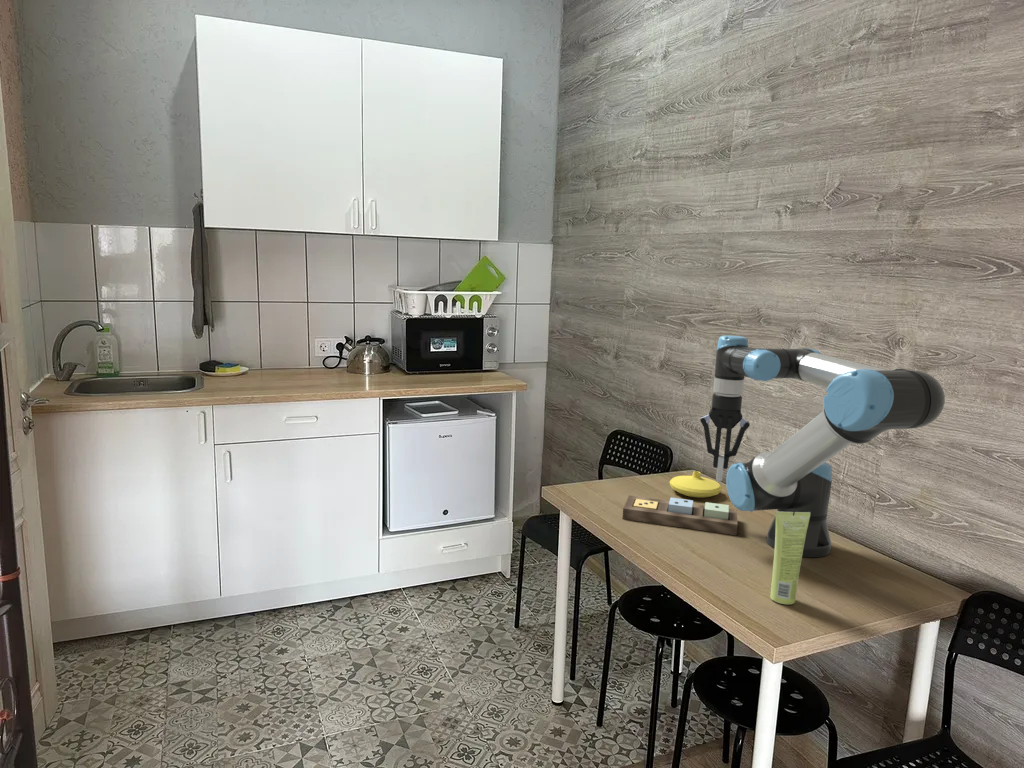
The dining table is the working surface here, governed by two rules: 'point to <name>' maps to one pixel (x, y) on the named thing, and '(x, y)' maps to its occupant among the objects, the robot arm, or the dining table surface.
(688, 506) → the tile
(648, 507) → the tile
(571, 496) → the dining table surface
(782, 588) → the tube
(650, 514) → the board
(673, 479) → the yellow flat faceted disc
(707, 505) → the tile
